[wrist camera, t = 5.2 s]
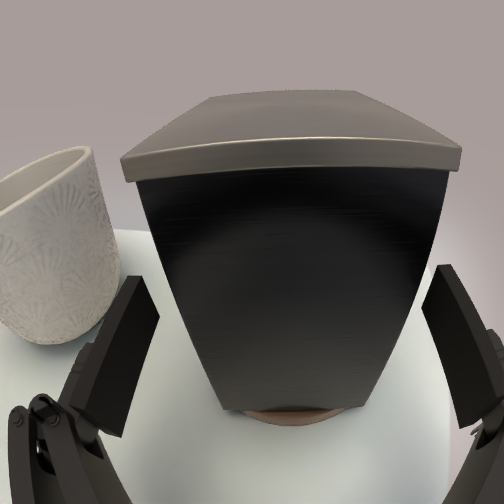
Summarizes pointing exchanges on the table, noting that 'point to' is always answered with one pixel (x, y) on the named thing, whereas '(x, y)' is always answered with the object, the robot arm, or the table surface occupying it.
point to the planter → (56, 248)
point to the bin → (293, 238)
